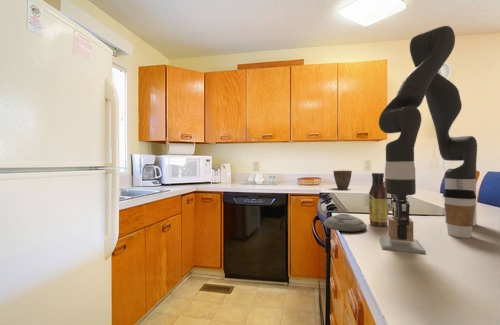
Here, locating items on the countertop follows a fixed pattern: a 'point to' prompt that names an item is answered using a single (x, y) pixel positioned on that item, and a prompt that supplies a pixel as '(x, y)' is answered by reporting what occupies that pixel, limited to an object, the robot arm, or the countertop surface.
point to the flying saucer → (344, 223)
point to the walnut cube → (393, 229)
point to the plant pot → (342, 179)
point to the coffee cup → (459, 212)
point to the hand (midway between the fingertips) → (400, 235)
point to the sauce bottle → (378, 201)
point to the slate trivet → (401, 245)
